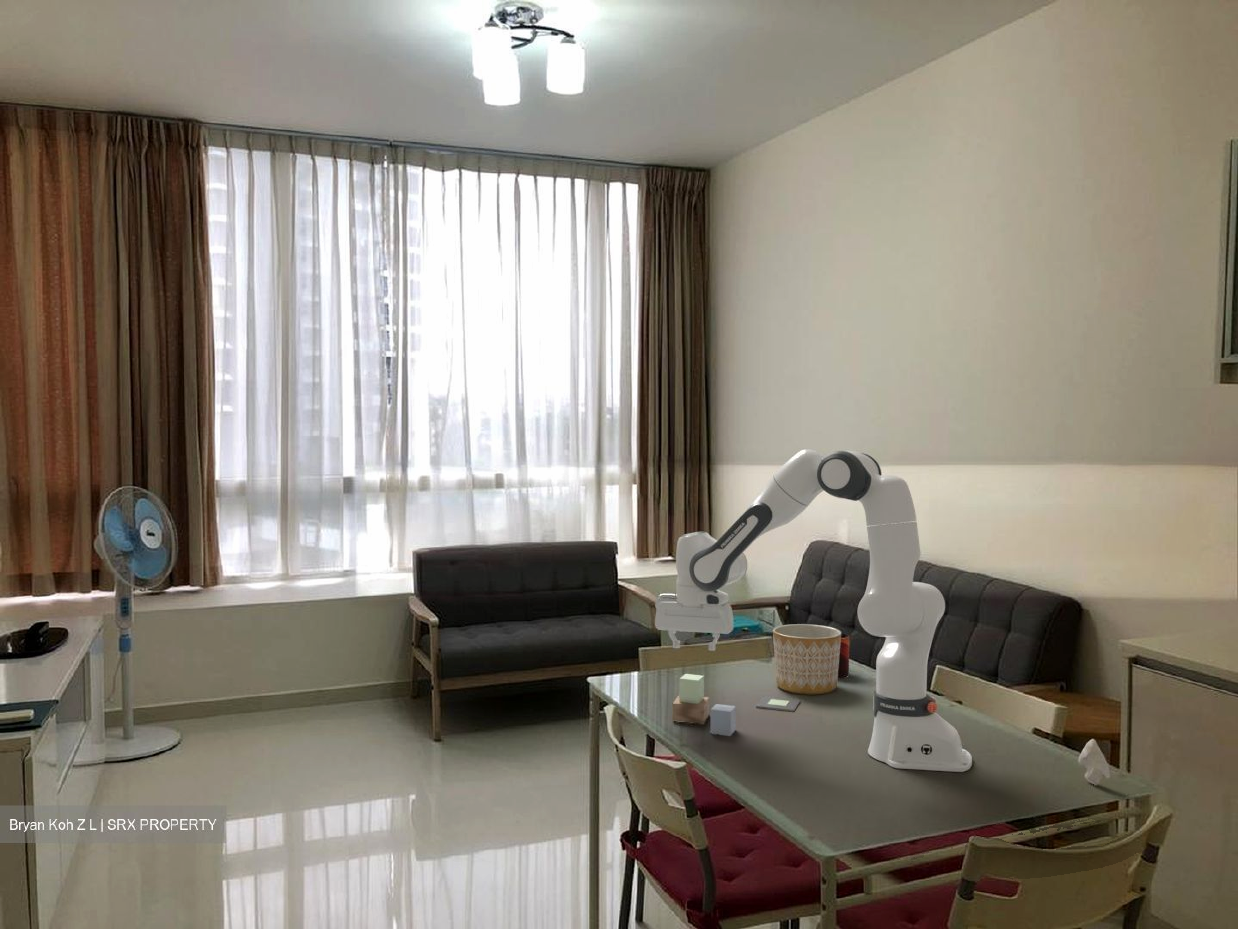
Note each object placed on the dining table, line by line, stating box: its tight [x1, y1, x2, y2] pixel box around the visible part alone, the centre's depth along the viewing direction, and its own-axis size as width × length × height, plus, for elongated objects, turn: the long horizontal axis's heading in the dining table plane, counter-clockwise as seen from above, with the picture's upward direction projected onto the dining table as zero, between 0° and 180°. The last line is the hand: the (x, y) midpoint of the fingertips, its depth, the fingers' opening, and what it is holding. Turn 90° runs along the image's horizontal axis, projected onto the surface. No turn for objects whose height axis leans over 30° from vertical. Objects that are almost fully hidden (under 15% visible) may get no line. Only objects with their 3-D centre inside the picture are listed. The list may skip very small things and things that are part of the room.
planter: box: [772, 623, 842, 696], centre depth 276 cm, size 19×19×16 cm
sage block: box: [678, 673, 705, 704], centre depth 246 cm, size 5×5×6 cm
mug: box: [837, 632, 850, 680], centre depth 293 cm, size 10×14×12 cm
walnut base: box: [672, 694, 710, 725], centre depth 246 cm, size 8×8×5 cm
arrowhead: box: [1077, 738, 1111, 786], centre depth 200 cm, size 8×3×10 cm, turn 21°
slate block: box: [710, 703, 737, 737], centre depth 236 cm, size 5×5×6 cm
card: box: [755, 695, 801, 713], centre depth 259 cm, size 10×10×1 cm
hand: (694, 649), depth 246 cm, fingers open, 8 cm apart
